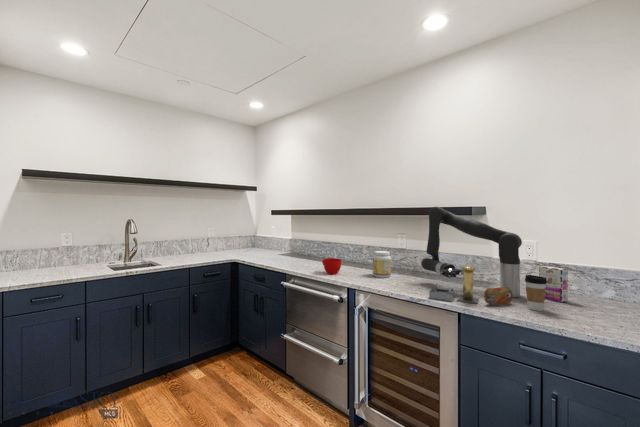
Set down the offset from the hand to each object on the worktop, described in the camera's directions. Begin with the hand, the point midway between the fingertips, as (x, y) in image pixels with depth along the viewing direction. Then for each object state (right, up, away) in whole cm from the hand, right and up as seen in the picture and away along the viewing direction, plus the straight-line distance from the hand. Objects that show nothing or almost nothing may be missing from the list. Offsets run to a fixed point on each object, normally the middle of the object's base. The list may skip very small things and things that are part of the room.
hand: (463, 275), depth 159 cm
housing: (-10, -12, +1) cm, 16 cm away
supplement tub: (-31, -12, +54) cm, 63 cm away
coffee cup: (+26, -12, -17) cm, 33 cm away
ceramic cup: (-66, -11, +63) cm, 92 cm away
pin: (+1, -11, -4) cm, 12 cm away
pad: (+1, -12, -4) cm, 13 cm away
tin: (+12, -12, -10) cm, 20 cm away
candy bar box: (+46, -12, -1) cm, 47 cm away
